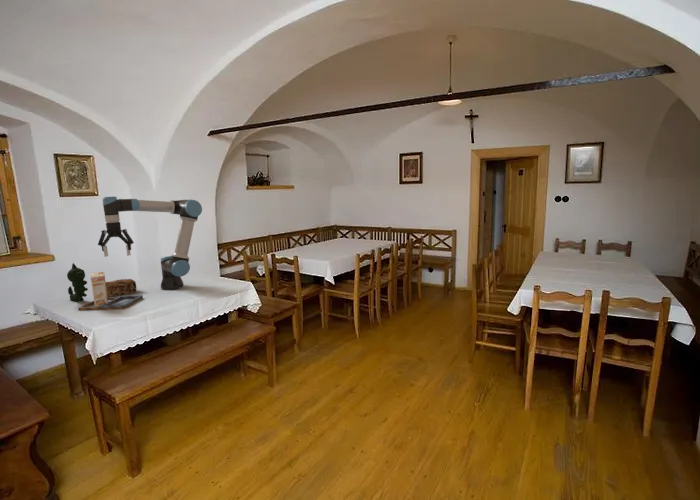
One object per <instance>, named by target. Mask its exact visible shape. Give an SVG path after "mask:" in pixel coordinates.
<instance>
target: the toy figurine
mask: <svg viewBox="0 0 700 500" xmlns="http://www.w3.org/2000/svg"><path fill="white" fill-rule="evenodd" d="M85 272H86V271H85V270H84V269H82V268H81V267H80V268H79V267H77V266H76V264H75V263H74V262H73V263H72V264H71V269H70V270H68V272H67V273H66V277H67V280H68V281H69V282H71V285H72V286H69V287H68V288H67V292H68V293H67V294H68V295H69V300H70V301H73V302H76V303H77V302H78V303H79V302H80V301H84V298H86V297H87V296H88V295H87V294H86V293H85V292H86V291H89V289H88V287H85V285H88V281H87V280H84V279H85V277H86V273H85Z"/></svg>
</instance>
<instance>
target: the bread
mask: <svg viewBox="0 0 700 500" xmlns="http://www.w3.org/2000/svg"><path fill="white" fill-rule="evenodd" d="M105 282H106V290H107V297H120V296H126V295H129V294H133V293H134V294H135V293H137V289H138V288H137V283H136V281H135V280H134V279H132V278H124V279H116V280H112V281H111V280H110V281H105ZM125 294H126V295H125ZM119 295H120V296H119Z"/></svg>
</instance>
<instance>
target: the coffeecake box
mask: <svg viewBox="0 0 700 500" xmlns="http://www.w3.org/2000/svg"><path fill="white" fill-rule="evenodd" d="M90 281H91V287H92V296H93V301H94V304H93V305H94V307H100V306H102V305H104V304H106V303H108V302H109V300H108V298H107V290H106V282H107V281H106V275H105V272H104V271H99V272H92V273H91V274H90Z"/></svg>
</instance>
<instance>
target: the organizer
mask: <svg viewBox="0 0 700 500" xmlns="http://www.w3.org/2000/svg"><path fill="white" fill-rule="evenodd" d="M143 296H144V295H143V294H142V295H141V294H140V295H139V294H137V295H135V294H134V295H120V296H111V297H107V298H108V303H106V304H104V305H102V306H100V307H95V306H92V305H94V300H93V301H90V302H88V303H86V304H84V305H82V306H79V307H78V308H77V309H78V311H98V310H103V311H104V310H125V309H127V308H129V307H130V306H132V305H134V304H135V303H137V302H139V301H141V300H142V299H143V298H144V297H143Z"/></svg>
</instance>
